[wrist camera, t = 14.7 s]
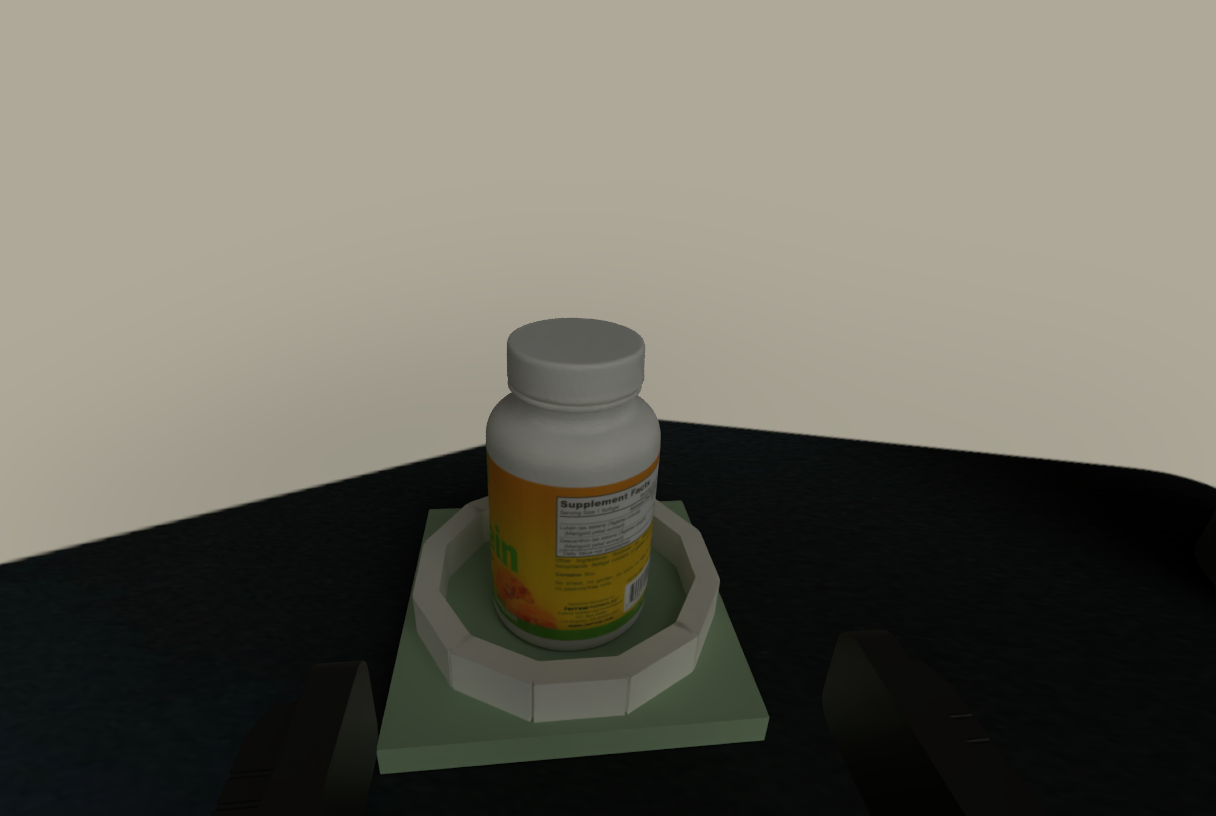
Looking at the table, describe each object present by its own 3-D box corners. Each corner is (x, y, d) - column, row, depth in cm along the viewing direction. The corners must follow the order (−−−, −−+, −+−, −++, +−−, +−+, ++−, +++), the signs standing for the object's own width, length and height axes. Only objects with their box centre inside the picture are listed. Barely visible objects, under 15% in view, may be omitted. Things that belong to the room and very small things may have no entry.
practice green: (679, 518, 28) (685, 472, 27) (764, 740, 19) (778, 681, 17) (431, 528, 27) (426, 479, 26) (380, 773, 17) (369, 711, 16)
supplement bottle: (480, 562, 24) (467, 315, 19) (614, 537, 25) (629, 305, 21) (509, 674, 19) (500, 384, 15) (670, 635, 21) (703, 365, 16)
